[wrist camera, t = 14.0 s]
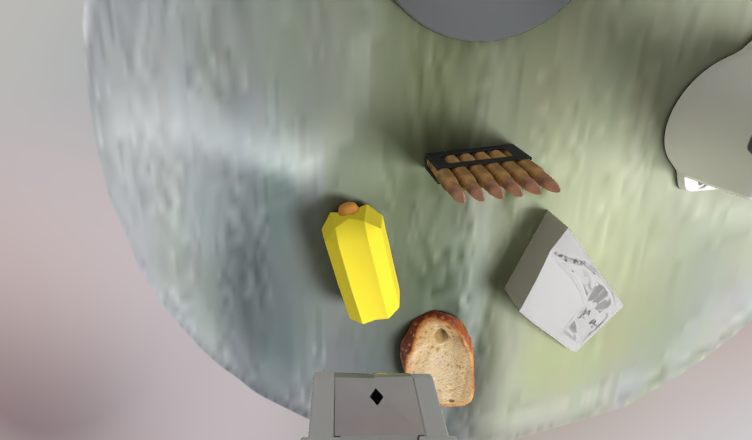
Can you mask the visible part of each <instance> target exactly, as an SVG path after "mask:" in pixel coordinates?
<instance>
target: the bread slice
mask: <svg viewBox="0 0 752 440" xmlns="http://www.w3.org/2000/svg"><path fill="white" fill-rule="evenodd" d="M400 359H401V363H402V367H403V370H404V373H410V374H430V375H431V376H432V377H433V381H434V384H435V388H436V391H437V395H438V399H439V402H440V406H447V407H457V406H464V405H466V404H468V403H469V402H471V401H472V398H473V394H474V390H475V388H474V385H475V383H474V356H473V348H472V341H471V338H470V337H469V335H468V332H467V330H466V328H465V326H464V324H463V323H462V322H461V321H460V320H459V319H457V318H456V317H454V316H452V315H450V314H447V313H443V312H439V311H437V310H433V311H429V312H427V313H425V314H423V315H421V316H419V317H417V318H416V319H414V320H413V321H412V323H411V325H410V327H409V330H408V331H407V333H406V335H405V336H404V338H403V339H402V341H401V346H400Z"/></svg>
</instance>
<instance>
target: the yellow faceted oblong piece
mask: <svg viewBox="0 0 752 440" xmlns="http://www.w3.org/2000/svg"><path fill="white" fill-rule="evenodd" d="M322 233H323V237H324V241H325V244H326V247H327V250H328V254H329V257H330V260H331V263H332V266H333V270H334V273H335V276H336V279H337V283H338V286H339V289H340V291H341V294H342V297H343V300H344V303H345V306H346V309H347V311H348V314H349V317H350V319H352V320H355V321H357V322H359V323H361V324H365V323H368V322H370V321H373V320H376V319H388V318H389V317H390V316H391V315H392V314H393V313H394V312H395V311H396V310H397V309H398V308H399V301H400V290H399V286H398V281H397V277H396V272H395V268H394V264H393V259H392V255H391V250H390V246H389V242H388V237H387V233H386V229H385V224H384V220H383V216H382V215H381V214H380V213H378V212H377V211H376V210H374V209H373V208H371V207H370V206H369V205H367V204H366V205H363V206H361V207H358V206H357V205H356V203H355V202H346V203H343V204H342V205H340V206H339V209H338V212H330V214H329V216H328V218H327V220H326V222H325V224H324V226H323V228H322Z"/></svg>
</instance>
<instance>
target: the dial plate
mask: <svg viewBox="0 0 752 440" xmlns="http://www.w3.org/2000/svg"><path fill="white" fill-rule="evenodd" d="M394 1H395V2H396V3H397V4H398V5H399V6H400V7H401V8H402V9H403V10H404V11H405V12H406V13H407V14H408V15H409V16H410V17H412V18H413V19H414V20H415V21H417V22H418V23H419V24H421V25H422V26H424V27H426V28H428V29H429V30H431V31H433V32H435V33H438V34H440V35H443V36H445V37H449V38H453V39H458V40H464V41H479V42H482V41H495V40H500V39H505V38H509V37H513V36H515V35H518V34H521V33H523V32H526V31H528V30H530V29H532V28H534V27H536V26H538V25H540V24H541V23H543V22H544V21H546V20H547V19H549V18H550V17H552V16H553V15H555V14H556V13H557V12H558V11H560V10H561V9H562V8H563V7H564V6H565V5H566V4H568V3H569V2H570V1H571V0H394Z"/></svg>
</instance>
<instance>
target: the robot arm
mask: <svg viewBox="0 0 752 440" xmlns="http://www.w3.org/2000/svg"><path fill="white" fill-rule="evenodd" d="M665 150H666V154H667V156H668V159H669V160H670V162H671V163H672V165H673V166H674V167H675V169H676V171H677V181H678V186H679V188H680V189H682V190H685V191H689V192H693V191H702V190H712V189H719V190H722V191H725V192H728V193H730V194H733V195H736V196H739V197H742V198H745V199H749V200H752V41H751V42H749V43H748V44H747V45H746V46H745V47H744V48H743V49H742V50H740V51H738V52H737V53H735V54H733V55H731V56H729V57H726V58H724V59H722V60H721V61H719V62H717V63H715V64H714V65H712V66H711V67H709V68H708V69H707V70H705V71H704V72H703V73H702V74H700V75H699V76H698V77H697V78H696V79H695V80H694V81H693V82H692V83H691V84H690V85H689V87H688V88H687V89H686V90H685V91H684V93H683V94H682V95H681V97H680V98H679V100H678V101H677V103H676V105H675V106H674V108H673V110H672V113H671V115H670V117H669V120H668V123H667V126H666V131H665ZM301 440H458V439H457V438H456V437H455V436H449V435H448V431H447V428H446V424H445V420H444V417H443V413H442V410H441V406H440V402H439V399H438V395H437V391H436V388H435V384H434V381H433V377H432V376H431V375H430V374H410V373H373V374H365V373H341V372H335V373H334V372H314V376H313V386H312V399H311V412H310V425H309V437H305V438H304V437H303V438H301Z"/></svg>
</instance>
